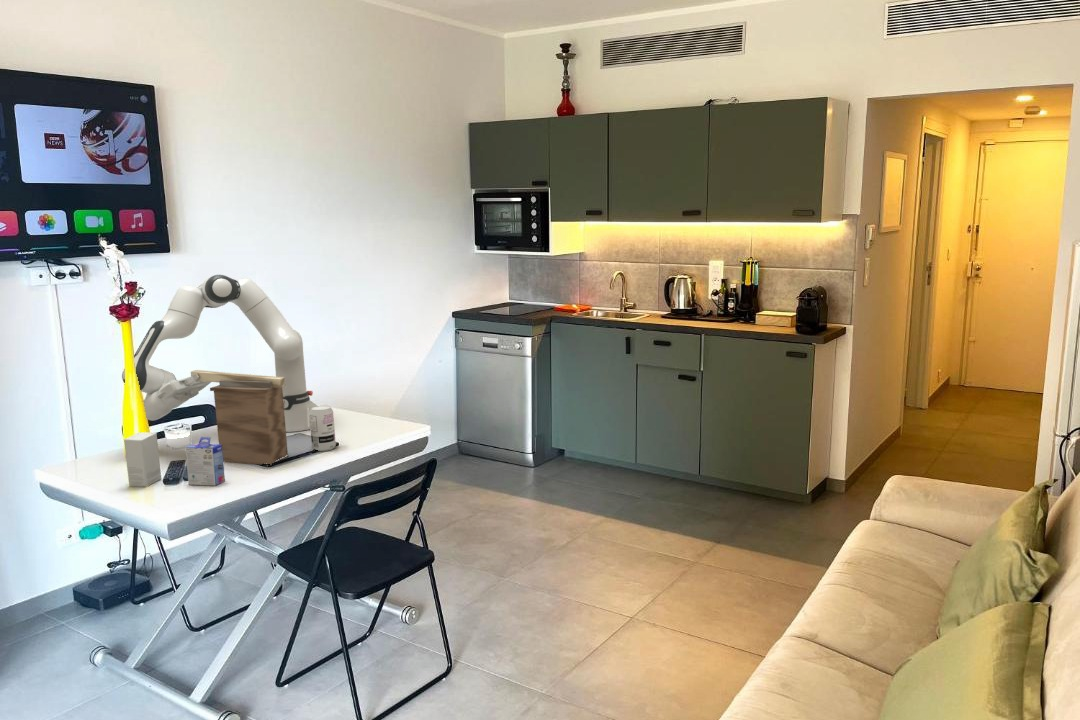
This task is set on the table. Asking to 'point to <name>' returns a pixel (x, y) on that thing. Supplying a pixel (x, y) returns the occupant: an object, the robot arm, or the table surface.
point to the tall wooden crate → (250, 421)
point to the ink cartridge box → (205, 463)
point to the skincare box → (142, 459)
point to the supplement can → (322, 428)
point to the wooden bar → (238, 377)
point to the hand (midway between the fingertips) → (202, 374)
